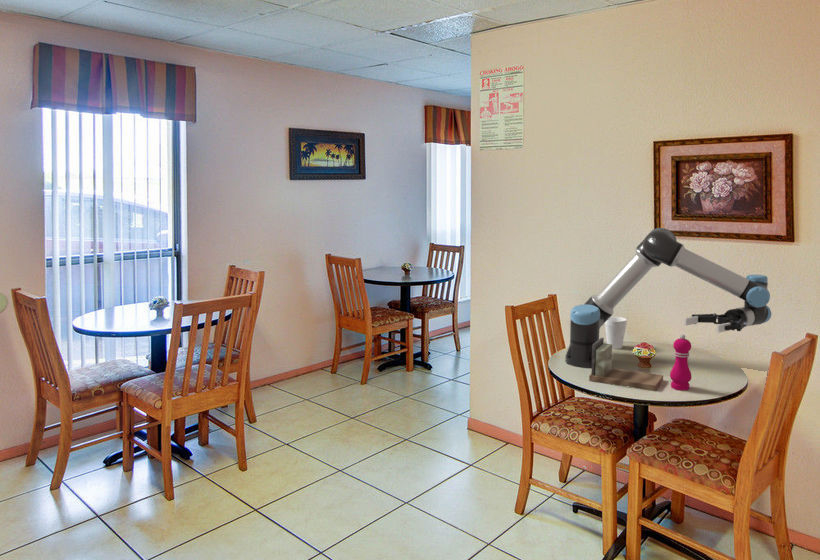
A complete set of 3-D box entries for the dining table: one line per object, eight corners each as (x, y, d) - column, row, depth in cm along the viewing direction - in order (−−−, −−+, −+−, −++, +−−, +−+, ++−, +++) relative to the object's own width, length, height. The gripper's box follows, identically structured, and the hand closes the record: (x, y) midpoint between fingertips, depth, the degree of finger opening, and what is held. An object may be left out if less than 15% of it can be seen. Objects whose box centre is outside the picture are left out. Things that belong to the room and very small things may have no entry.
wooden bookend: (589, 380, 242) (590, 345, 240) (599, 371, 254) (600, 336, 251) (655, 391, 229) (657, 353, 227) (663, 380, 241) (664, 344, 239)
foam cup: (608, 343, 295) (608, 315, 293) (628, 346, 289) (629, 318, 287) (601, 348, 287) (602, 319, 285) (621, 350, 282) (622, 322, 280)
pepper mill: (665, 385, 236) (668, 332, 232) (684, 384, 236) (687, 331, 233) (675, 391, 228) (678, 337, 225) (694, 390, 229) (697, 336, 226)
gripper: (769, 334, 233) (731, 342, 223) (709, 321, 254) (672, 328, 245) (770, 314, 232) (732, 321, 222) (710, 303, 253) (673, 309, 244)
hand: (701, 325), depth 233 cm, fingers open, 13 cm apart
